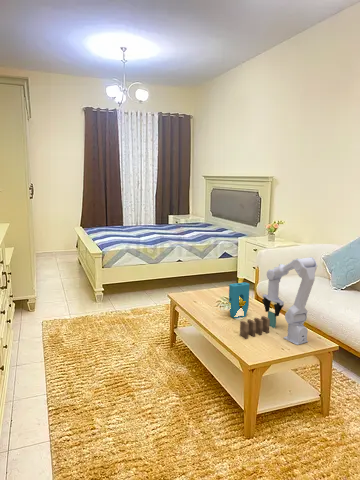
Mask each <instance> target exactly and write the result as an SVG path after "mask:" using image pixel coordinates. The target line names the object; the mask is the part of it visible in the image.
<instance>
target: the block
mask: <svg viewBox="0 0 360 480" xmlns="http://www.w3.org/2000/svg"><path fill="white" fill-rule="evenodd" d="M250 285H251V284H250V283H248V282H238V283H237V282H236V283H229V285H228V303H229V302H230V303H231V309H230V310H229V309H228V310H229V315H230V317H231V318H233V319H235V320H237V319H240V318H245V317H247V314H248V310H249V304H250V302H249V301H250ZM239 296H240V297H241V298H242V299H243V301H246V303H245V305H244V306H242V307H243V308H242V309H243V311H244V316H238V317H234V316H235V315H236V313H237V311H238V310H239V309H240V306H239Z"/></svg>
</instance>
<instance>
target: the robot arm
mask: <svg viewBox="0 0 360 480" xmlns="http://www.w3.org/2000/svg"><path fill="white" fill-rule="evenodd" d="M317 267H318V263H317V261H316V259H315V258H314V257H312V256H310V257H304V258H295V259H292V260H291V261H290V262H288V263H287V264H285V263H284V264H283V263H281V264H278V266H275V267H273V269H268V270H267V271H266V277H267V279H268V286H267V294H262V299H261V302H262V303H263V306H264V311H265V312H266V313H268V311H271V310H270V307H271V304H272V303H271V302H273V303H274V304H273V307H274V313H275V316H276V317H279V316H280V312H281V310H282V309H283V307H284V305H285V304H284V300H282V299H281V298H280V297H279V294H280V293H279V292H280V291H279V290H280V282H281V279H282V278H283V277H284V276H286V275H288V274H289V271H291V270H294V271H295V272H296V273H297V275H298V277H299V278H301V281H300V284H299V287H298V290H297V294H296V297H295V299H294V302H293V305H292V306H290V307H289V308H288V310H287V311H286V312H285V313H284V320H285V321H286V323H287V335H286V336H283V339H284V340H287V341H288V342H290V343H293V344H294V345H297V346H299V345H302V344H305V343H309V341H308V328H307V327H306V326H305V325H304V324H305V322H306V321H307V319H308V311H309V310H308V309H307V308H306V306H307V302H308V300H309V297H310V294H311V291H312V288H313V286H314V282H315V279H316V278H315V277H316V271H317Z"/></svg>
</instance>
